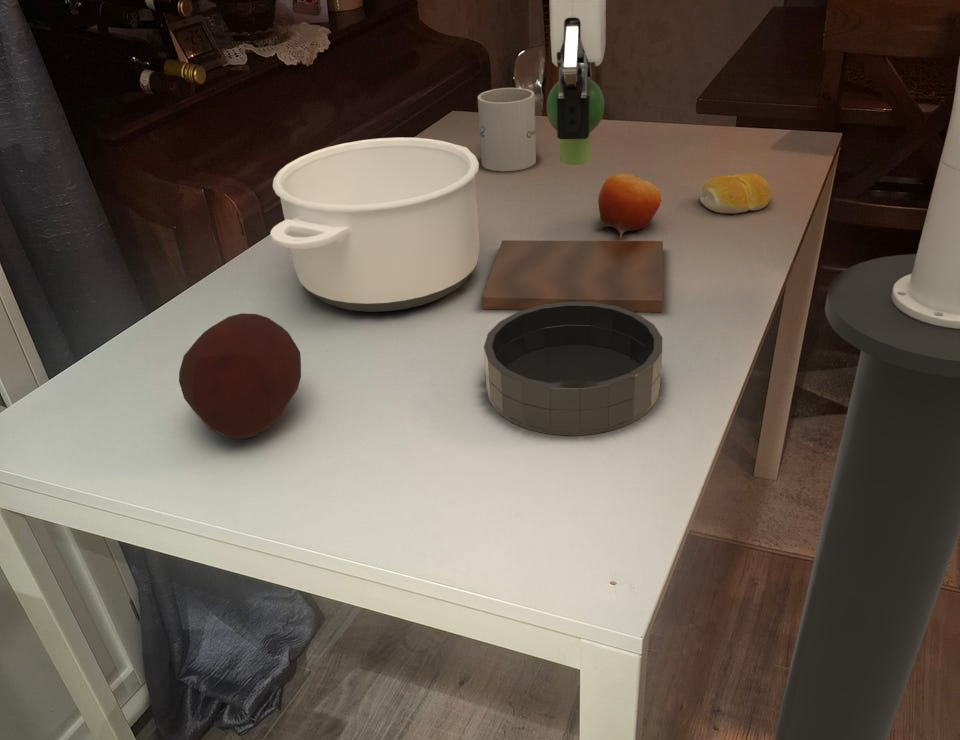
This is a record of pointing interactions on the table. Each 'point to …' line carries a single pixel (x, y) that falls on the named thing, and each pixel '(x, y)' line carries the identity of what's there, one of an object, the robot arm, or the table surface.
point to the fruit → (627, 202)
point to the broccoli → (580, 148)
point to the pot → (380, 221)
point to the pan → (573, 368)
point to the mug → (507, 129)
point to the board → (576, 274)
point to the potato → (241, 375)
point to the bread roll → (735, 193)
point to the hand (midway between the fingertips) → (575, 126)
